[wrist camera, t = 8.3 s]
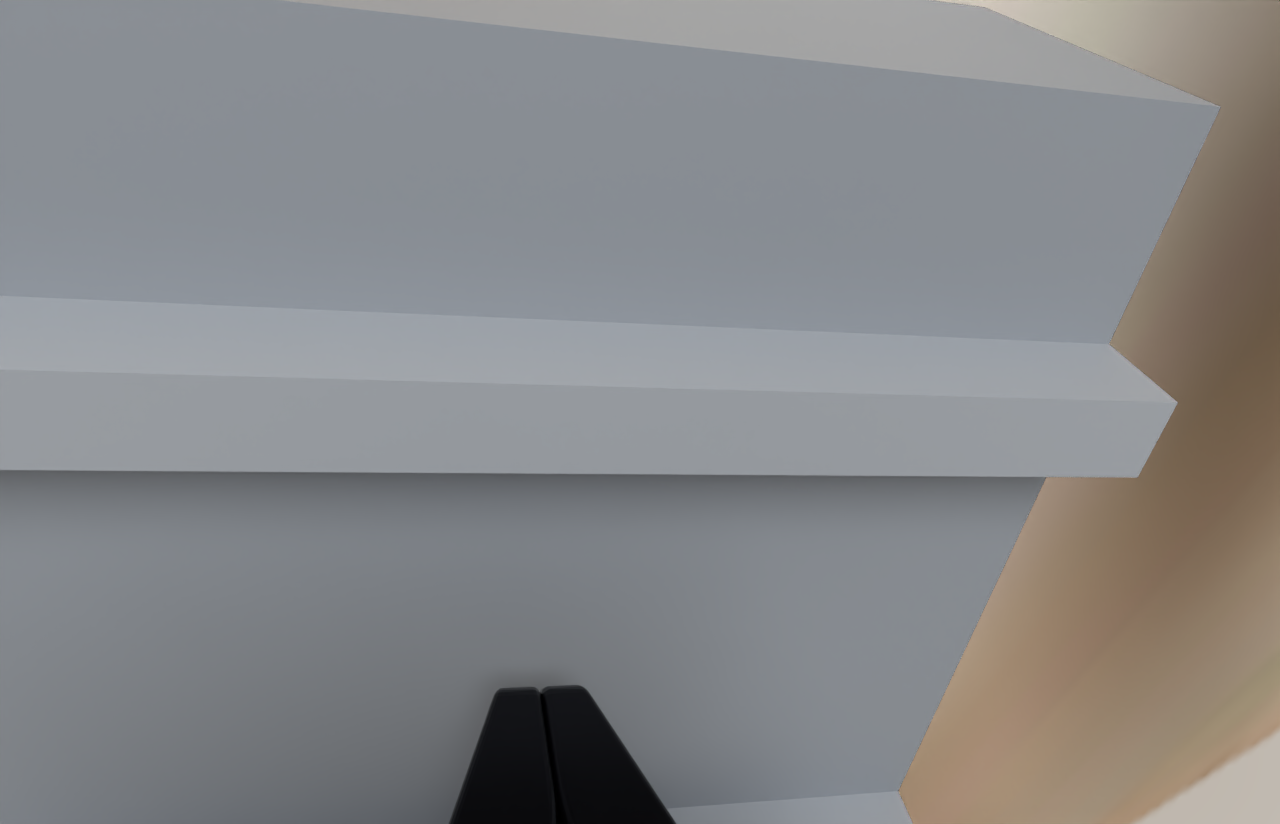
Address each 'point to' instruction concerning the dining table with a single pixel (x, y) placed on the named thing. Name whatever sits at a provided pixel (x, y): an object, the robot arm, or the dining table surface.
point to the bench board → (539, 385)
